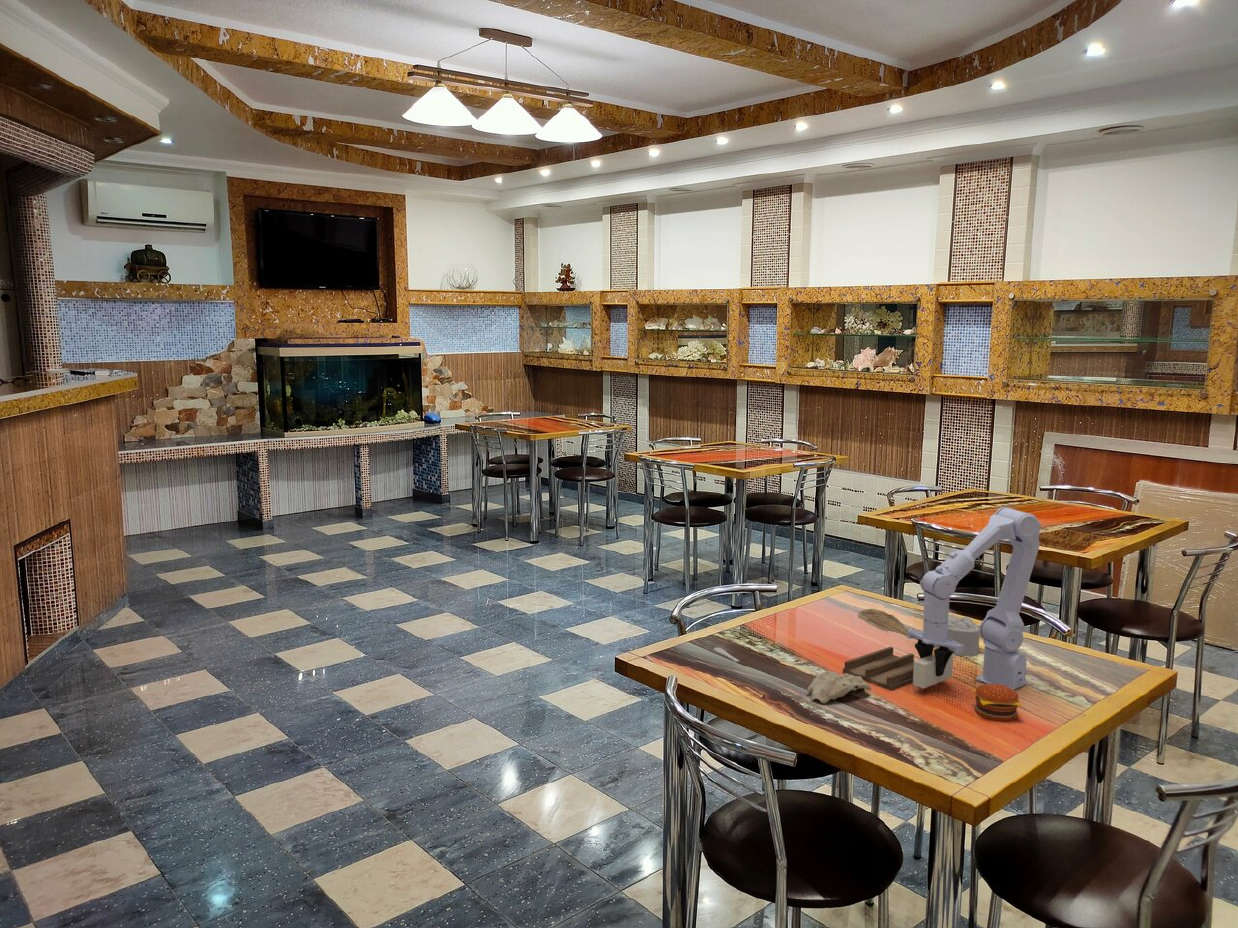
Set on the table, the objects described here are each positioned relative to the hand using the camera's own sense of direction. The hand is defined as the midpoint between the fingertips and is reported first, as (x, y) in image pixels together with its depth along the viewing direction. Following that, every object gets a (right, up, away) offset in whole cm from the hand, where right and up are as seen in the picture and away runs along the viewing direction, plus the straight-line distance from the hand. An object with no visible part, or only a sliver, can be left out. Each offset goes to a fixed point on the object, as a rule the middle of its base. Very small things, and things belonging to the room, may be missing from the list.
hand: (933, 673), depth 221 cm
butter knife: (-46, -2, +18) cm, 49 cm away
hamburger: (+10, -6, -14) cm, 18 cm away
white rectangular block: (0, -2, 0) cm, 2 cm away
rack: (-8, -2, +10) cm, 13 cm away
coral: (-25, -5, -2) cm, 25 cm away
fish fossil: (+3, +3, +49) cm, 49 cm away
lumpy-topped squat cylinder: (+16, 0, +29) cm, 33 cm away
